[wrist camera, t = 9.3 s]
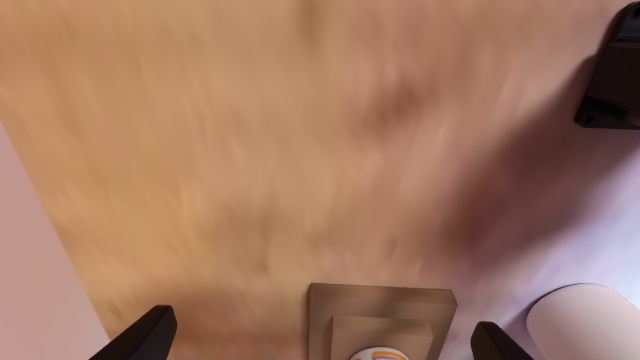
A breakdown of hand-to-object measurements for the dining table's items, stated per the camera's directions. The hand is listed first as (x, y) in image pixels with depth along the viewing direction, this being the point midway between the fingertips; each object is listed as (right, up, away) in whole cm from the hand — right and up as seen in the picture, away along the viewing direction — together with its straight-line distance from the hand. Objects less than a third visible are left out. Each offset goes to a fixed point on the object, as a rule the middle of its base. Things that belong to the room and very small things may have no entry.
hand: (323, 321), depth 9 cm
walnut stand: (+5, -10, +19) cm, 22 cm away
